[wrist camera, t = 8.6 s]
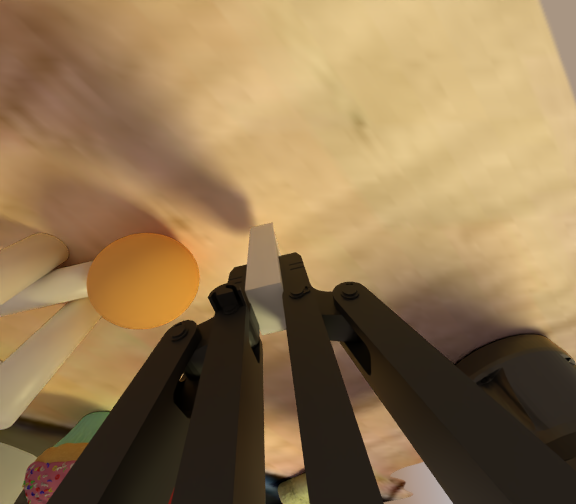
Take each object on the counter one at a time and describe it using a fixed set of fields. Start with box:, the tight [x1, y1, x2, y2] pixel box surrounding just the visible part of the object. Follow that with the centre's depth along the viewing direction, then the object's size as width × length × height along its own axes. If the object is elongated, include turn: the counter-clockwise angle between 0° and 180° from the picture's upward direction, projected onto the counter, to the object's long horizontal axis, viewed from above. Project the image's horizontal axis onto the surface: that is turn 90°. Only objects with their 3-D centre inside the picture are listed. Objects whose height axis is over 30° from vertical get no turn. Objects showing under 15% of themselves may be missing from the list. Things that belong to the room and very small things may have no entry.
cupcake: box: [22, 412, 110, 504], centre depth 21 cm, size 9×8×12 cm
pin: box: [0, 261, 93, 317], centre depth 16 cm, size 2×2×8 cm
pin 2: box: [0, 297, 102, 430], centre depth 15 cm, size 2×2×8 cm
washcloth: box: [278, 473, 310, 504], centre depth 43 cm, size 13×18×3 cm
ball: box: [86, 233, 199, 329], centre depth 14 cm, size 6×6×6 cm
